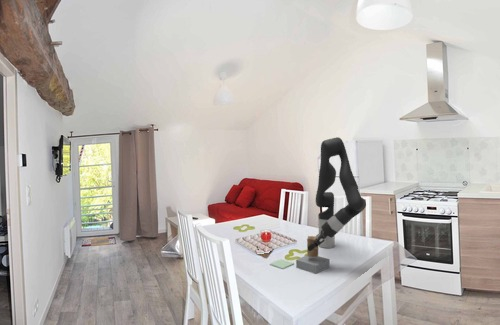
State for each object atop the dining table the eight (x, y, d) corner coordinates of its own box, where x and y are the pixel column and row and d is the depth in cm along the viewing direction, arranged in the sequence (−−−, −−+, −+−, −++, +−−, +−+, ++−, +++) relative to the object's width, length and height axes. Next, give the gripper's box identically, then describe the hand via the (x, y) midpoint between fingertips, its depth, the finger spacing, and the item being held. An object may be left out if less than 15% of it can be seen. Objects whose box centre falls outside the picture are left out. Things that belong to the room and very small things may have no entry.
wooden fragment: (256, 244, 206) (256, 243, 206) (273, 244, 205) (273, 243, 205) (254, 259, 181) (254, 257, 180) (273, 259, 180) (273, 257, 180)
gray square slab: (310, 261, 174) (310, 253, 174) (329, 266, 165) (329, 259, 165) (296, 267, 166) (296, 259, 165) (315, 273, 157) (315, 265, 157)
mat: (280, 260, 176) (280, 259, 176) (293, 264, 170) (293, 263, 170) (269, 264, 170) (269, 263, 170) (282, 269, 164) (282, 268, 164)
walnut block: (318, 253, 167) (318, 236, 166) (317, 257, 162) (317, 239, 162) (308, 253, 168) (308, 236, 168) (307, 256, 164) (307, 239, 163)
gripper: (328, 217, 169) (305, 238, 173) (326, 224, 155) (302, 247, 159) (338, 227, 168) (315, 249, 172) (338, 235, 154) (313, 258, 158)
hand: (309, 248), depth 166 cm, fingers closed on walnut block, 5 cm apart
